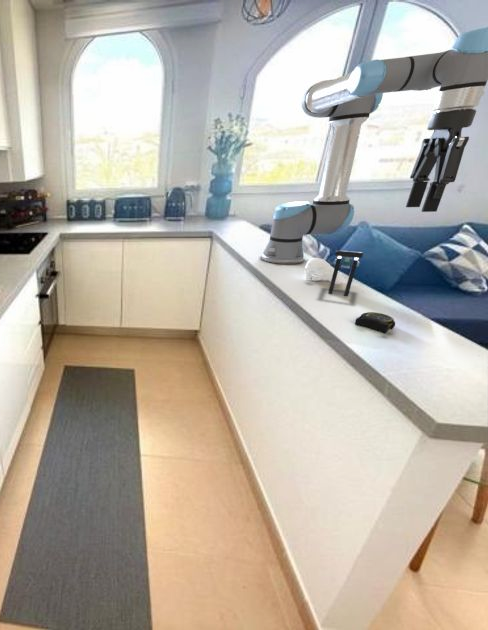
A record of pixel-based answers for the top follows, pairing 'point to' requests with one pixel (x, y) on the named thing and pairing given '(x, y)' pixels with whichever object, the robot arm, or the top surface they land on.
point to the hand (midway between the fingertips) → (420, 209)
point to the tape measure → (375, 321)
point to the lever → (348, 257)
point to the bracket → (353, 268)
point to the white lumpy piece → (321, 271)
